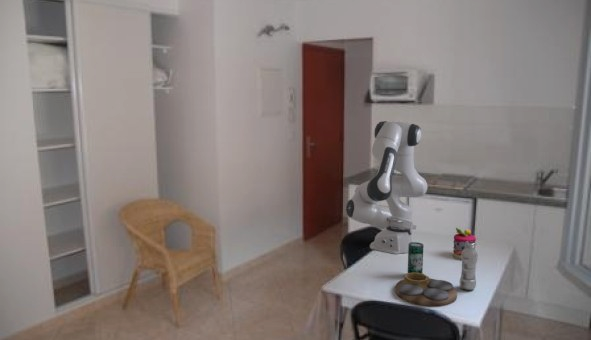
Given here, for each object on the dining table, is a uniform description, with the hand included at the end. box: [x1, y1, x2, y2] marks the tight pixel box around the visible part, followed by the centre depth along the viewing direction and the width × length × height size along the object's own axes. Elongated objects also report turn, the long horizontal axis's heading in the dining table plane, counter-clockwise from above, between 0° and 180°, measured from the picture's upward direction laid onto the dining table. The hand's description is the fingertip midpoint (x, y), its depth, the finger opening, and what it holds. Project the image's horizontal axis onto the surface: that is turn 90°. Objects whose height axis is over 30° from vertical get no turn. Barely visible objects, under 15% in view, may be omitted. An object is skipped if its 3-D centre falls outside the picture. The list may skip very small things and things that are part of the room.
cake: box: [452, 227, 477, 261], centre depth 233 cm, size 10×11×15 cm
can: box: [407, 241, 424, 274], centre depth 208 cm, size 6×6×15 cm
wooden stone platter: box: [395, 272, 458, 307], centre depth 192 cm, size 24×24×4 cm
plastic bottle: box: [459, 241, 479, 291], centre depth 195 cm, size 6×7×20 cm
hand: (409, 226), depth 204 cm, fingers open, 8 cm apart
